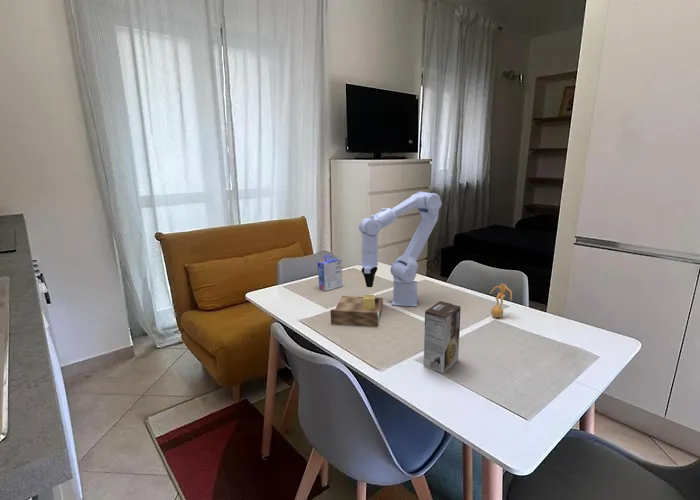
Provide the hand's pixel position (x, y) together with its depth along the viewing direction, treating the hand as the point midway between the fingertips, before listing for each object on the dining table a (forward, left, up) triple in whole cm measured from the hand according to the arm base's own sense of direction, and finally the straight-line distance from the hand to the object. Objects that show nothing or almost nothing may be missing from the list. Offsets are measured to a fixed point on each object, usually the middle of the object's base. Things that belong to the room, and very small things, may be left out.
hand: (369, 286), depth 140 cm
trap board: (+3, +5, -9) cm, 11 cm away
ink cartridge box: (+20, -22, -9) cm, 31 cm away
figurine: (-46, +1, -9) cm, 47 cm away
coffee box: (-24, +36, -9) cm, 45 cm away
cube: (0, +5, -6) cm, 8 cm away
